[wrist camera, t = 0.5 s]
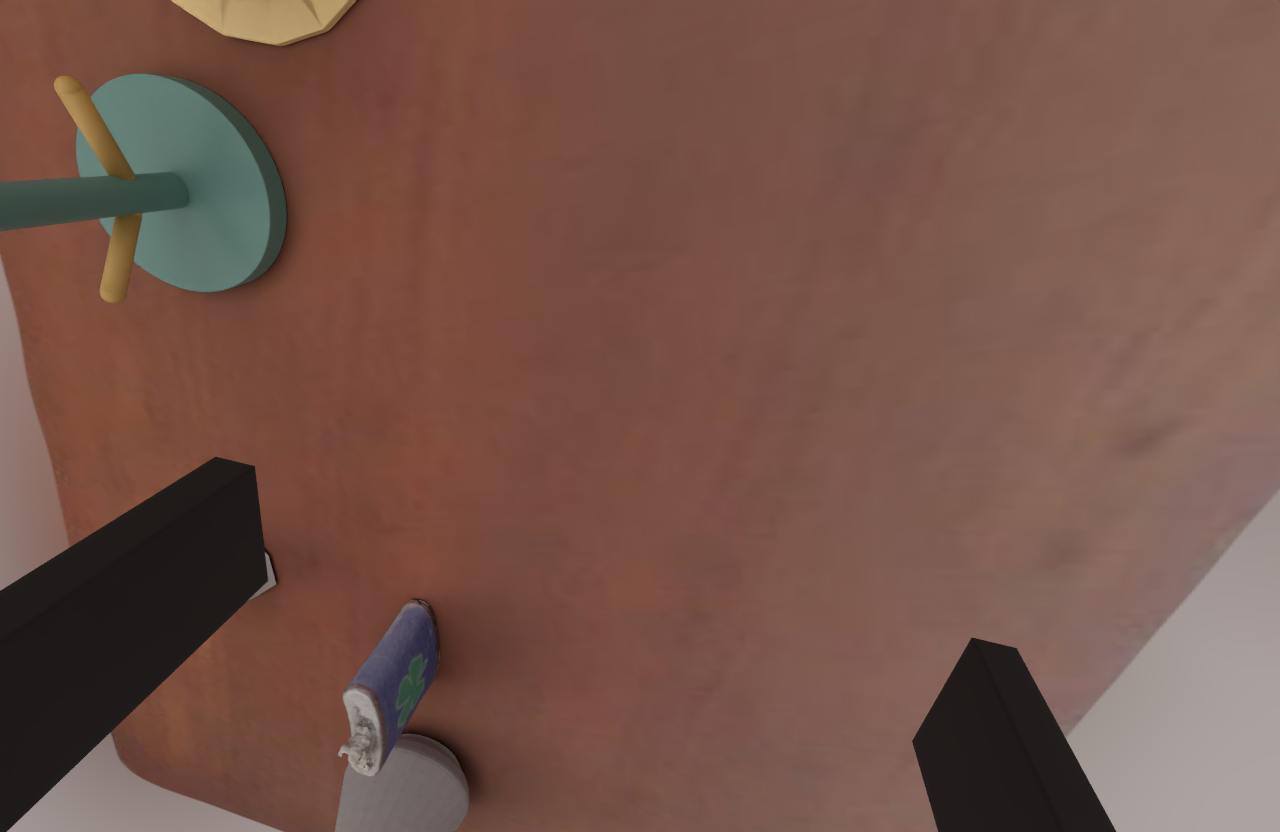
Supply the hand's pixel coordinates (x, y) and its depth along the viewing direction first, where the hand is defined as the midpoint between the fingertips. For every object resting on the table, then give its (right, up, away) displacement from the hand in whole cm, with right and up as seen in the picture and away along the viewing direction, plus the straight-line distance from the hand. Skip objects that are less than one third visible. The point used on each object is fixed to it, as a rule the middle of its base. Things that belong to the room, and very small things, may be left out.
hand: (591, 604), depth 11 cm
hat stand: (-26, +17, +26) cm, 41 cm away
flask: (-17, -15, +39) cm, 45 cm away
